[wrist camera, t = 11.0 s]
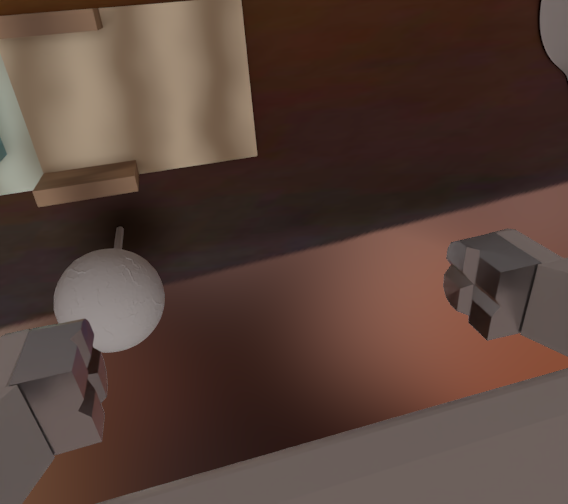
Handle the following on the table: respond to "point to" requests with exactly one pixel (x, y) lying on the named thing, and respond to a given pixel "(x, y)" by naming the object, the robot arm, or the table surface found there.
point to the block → (2, 151)
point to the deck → (121, 96)
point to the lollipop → (111, 296)
